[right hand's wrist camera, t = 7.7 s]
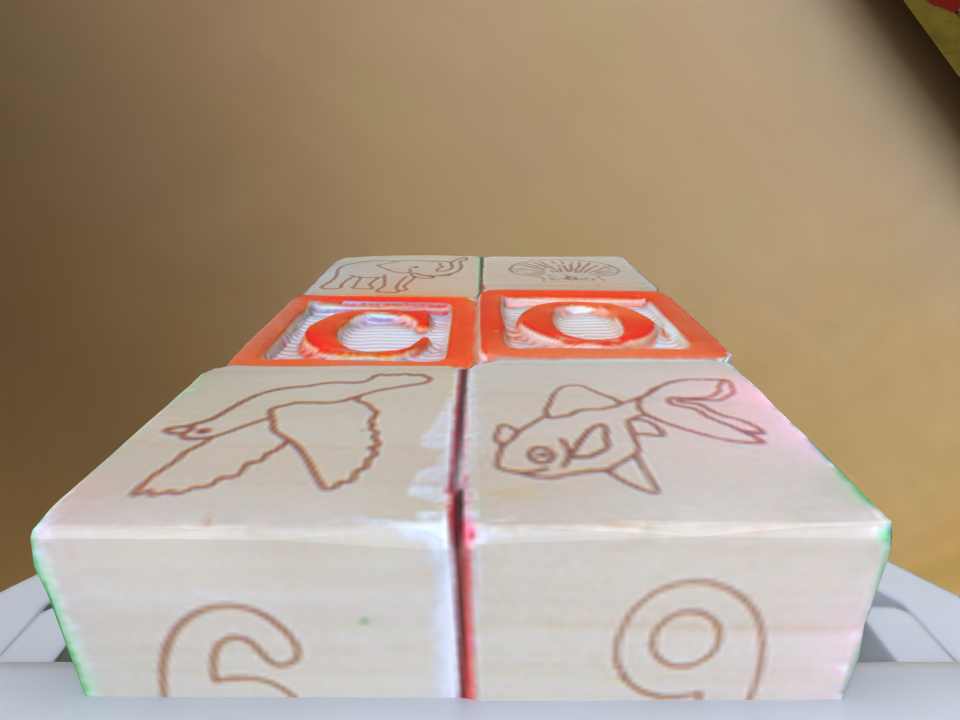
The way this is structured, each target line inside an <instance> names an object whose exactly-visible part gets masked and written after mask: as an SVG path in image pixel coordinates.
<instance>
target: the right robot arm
mask: <svg viewBox="0 0 960 720" xmlns="http://www.w3.org/2000/svg"><path fill="white" fill-rule="evenodd" d="M0 720H960V596H958V595H956V594H954V593H952V592H950V591H948V590H946V589H944V588H942V587H940V586H938V585H935V584H933V583H931V582H929V581H927V580H925V579H923V578H921V577H919V576H917V575H915V574H913V573H911V572H909V571H907V570H905V569H903V568H901V567H899V566H897V565H895V564H893V563H891V562H889V561H887V563H886V566H885V569H884V572H883V574H882V577H881V580H880V583H879V586H878V589H877V593H876V596H875V599H874V602H873V605H872V608H871V611H870V613H869V615H868V617H867V620H866V622H865V624H864V629H863V635H862V641H861V647H860V653H859V658H858V660H857V663H856V665H855V668H854V670H853V672H852V675H851V677H850V680H849V682H848V684H847V687H846V689H845V692H844V694H843V696H842V699H818V700H632V701H477V700H472V699H466V698H365V697H87V696H86V695H85V693H84V691H83V688H82V685H81V683H80V680H79V677H78V675H77V672H76V670H75V667H74V664H73V662H72V659H71V656H70V654H69V651H68V649H67V646H66V643H65V640H64V638H63V635H62V632H61V630H60V627H59V624H58V621H57V619H56V616H55V613H54V611H53V608H52V605H51V602H50V600H49V597H48V594H47V592H46V590H45V588H44V586H43V584H42V582H41V580H40V578H39V576H38V574H37V575H35V576H33V577H30V578H28V579H26V580H24V581H22V582H20V583H18V584H16V585H14V586H12V587H10V588H8V589H6V590H4V591H2V592H0Z"/></svg>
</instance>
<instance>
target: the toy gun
mask: <svg viewBox="0 0 960 720" xmlns="http://www.w3.org/2000/svg"><path fill="white" fill-rule="evenodd" d="M903 1H904V2H905V3H906V5H907V6H908V7H909V9H910V10H911V12H912V13H913V14H914V16H915V17H916V18H917V20H918V21H919V23H920V24H921V25H922V27H923V28H924V29H925V31H926V32H927V33H928V35H929V36H930V38H931V39H932V40H933V42H934V43H935V44H936V46H937V47H938V49H939V50H940V51H941V53H942V54H943V55H944V57H945V58H946V59H947V61H948V62H949V64H950V65H951V66H952V68H953V69H954V70H955V72H956V73H957V75H958V76H959V77H960V0H903Z"/></svg>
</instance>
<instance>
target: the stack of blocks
mask: <svg viewBox="0 0 960 720" xmlns="http://www.w3.org/2000/svg"><path fill="white" fill-rule="evenodd" d="M731 358H732V355H731V354H730V353H729V352H728V350H727V349H726V348H725V347H724V346H723V345H722V344H721V343H720V342H719V341H717V340H716V339H715V338H714V337H713V336H712V335H711V334H710V333H709V332H708V331H707V330H705V329H704V328H703V327H702V326H701V325H700V324H699V323H698V322H697V321H696V320H695V319H694V318H693V317H691V316H690V315H689V314H688V313H687V312H686V311H684V310H683V309H682V308H681V307H680V306H679V305H678V304H676V303H675V302H674V301H673V300H672V299H671V298H670V297H669V296H667V295H665V294H663V293H661V292H659V290H658V288H657V287H656V286H655V285H653V284H652V283H651V282H650V281H649V280H647V279H646V278H645V277H644V276H643V275H642V274H641V273H640V272H639V271H637V270H636V269H634V268H633V267H632V266H631V265H630V264H629V263H628V262H627V261H626V260H624V259H623V258H621V257H618V256H615V257H484V258H482V257H476V256H442V255H409V256H369V257H353V258H344V259H341V260H339V261H337V262H335V263H334V264H333V265H332V266H331V267H330V268H329V269H327V270H326V271H325V272H324V273H323V274H322V275H321V276H320V277H319V278H318V279H317V281H316V282H315V283H314V284H313V285H312V286H311V287H310V288H309V289H308V290H307V291H306V292H305V293H304V294H303V295H300V296H298V297H296V298H294V299H293V300H291V301H290V302H289V303H288V304H287V305H286V307H285V308H283V309H282V310H281V311H280V312H279V313H278V314H277V315H276V316H275V317H274V318H273V319H272V320H271V321H270V322H269V323H268V324H267V325H266V326H264V327H263V328H262V329H261V330H260V331H259V332H258V333H257V334H256V335H255V336H253V337H252V338H251V339H250V340H249V341H248V342H247V343H246V344H245V346H244V347H243V348H242V349H241V350H240V351H239V352H238V353H237V354H236V355H235V356H234V357H233V358H232V359H231V361H230V362H229V363H228V365H227V366H226V367H221V368H215V369H213V370H210V371H208V372H205V373H203V374H201V375H200V376H199V377H198V378H197V379H196V380H195V381H194V382H193V383H192V384H191V385H190V386H189V387H188V388H186V389H185V390H184V391H183V392H181V393H180V394H179V395H178V396H177V397H176V398H175V399H174V400H173V401H171V402H170V403H169V404H168V405H167V406H166V407H165V408H164V409H163V410H161V411H160V412H159V413H158V414H157V415H156V416H155V417H153V418H152V419H151V420H150V421H149V422H147V423H146V424H145V425H144V426H143V427H142V428H140V429H139V430H138V431H137V432H136V433H135V434H134V435H133V436H131V437H130V438H129V439H128V440H127V441H126V442H125V443H124V444H123V445H122V446H121V447H119V448H118V449H117V450H116V451H115V452H114V453H113V454H112V455H111V456H110V457H108V458H107V459H106V460H105V461H104V462H103V463H102V464H100V465H99V466H98V467H97V468H96V469H95V470H94V471H92V472H91V473H90V474H89V475H88V476H87V477H86V478H84V479H83V480H82V481H81V482H80V483H79V484H78V485H76V486H75V487H74V488H73V489H72V490H71V491H69V492H68V493H67V494H66V495H65V496H64V497H63V498H61V499H60V500H59V501H58V502H57V503H56V504H55V505H54V506H53V507H52V508H51V509H50V510H49V511H48V513H47V514H46V515H45V516H44V517H43V518H42V519H41V521H40V522H39V523H38V524H37V525H36V526H35V527H34V529H33V530H32V534H31V538H30V539H31V547H32V554H33V562H34V567H35V569H36V572H37V574H38V576H39V578H40V580H41V582H42V584H43V586H44V588H45V590H46V592H47V594H48V597H49V600H50V602H51V605H52V608H53V611H54V613H55V616H56V619H57V621H58V624H59V627H60V630H61V632H62V635H63V638H64V640H65V643H66V646H67V649H68V651H69V654H70V656H71V659H72V662H73V664H74V667H75V670H76V672H77V675H78V677H79V680H80V683H81V685H82V688H83V691H84V693H85V695H86V696H87V697H365V698H466V699H472V700H477V701H632V700H818V699H842V696H843V694H844V692H845V689H846V687H847V684H848V682H849V680H850V677H851V675H852V672H853V670H854V668H855V665H856V663H857V660H858V658H859V653H860V647H861V641H862V635H863V629H864V624H865V622H866V620H867V617H868V615H869V613H870V611H871V608H872V605H873V602H874V599H875V596H876V593H877V589H878V586H879V583H880V580H881V577H882V574H883V572H884V569H885V566H886V563H887V561H888V558H889V555H890V550H891V543H892V523H891V521H890V520H889V519H888V518H887V517H886V516H885V515H884V514H883V513H882V512H881V511H880V510H879V509H878V508H877V507H876V506H875V505H874V504H873V503H871V502H870V501H869V500H868V499H867V497H866V496H865V495H864V494H863V493H862V492H861V491H860V490H859V489H858V488H857V487H856V486H855V485H854V484H853V483H852V482H851V481H850V480H849V479H848V478H847V477H846V476H845V475H844V474H843V473H842V472H841V471H840V470H839V469H838V468H837V467H836V466H835V465H834V464H833V463H832V461H831V460H830V459H829V458H828V457H827V456H826V455H825V454H824V453H823V452H821V451H820V450H819V449H818V448H817V447H816V446H815V445H814V444H813V443H812V442H811V441H810V440H809V439H808V438H807V437H806V436H805V435H804V434H803V433H802V432H801V431H800V430H799V429H798V428H797V427H795V426H794V425H793V424H792V423H791V422H790V421H789V420H788V419H787V418H786V417H785V416H784V415H783V414H782V413H781V412H780V411H779V410H777V409H776V408H775V407H774V405H773V404H772V403H771V402H770V401H769V400H768V399H767V398H766V397H765V396H764V395H763V394H762V393H761V391H760V390H759V389H757V388H756V387H755V386H754V385H753V384H752V383H751V382H750V381H749V380H747V379H746V378H745V377H743V376H742V375H741V374H740V373H739V372H738V370H737V369H736V368H735V367H733V366H732V365H731Z"/></svg>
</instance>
